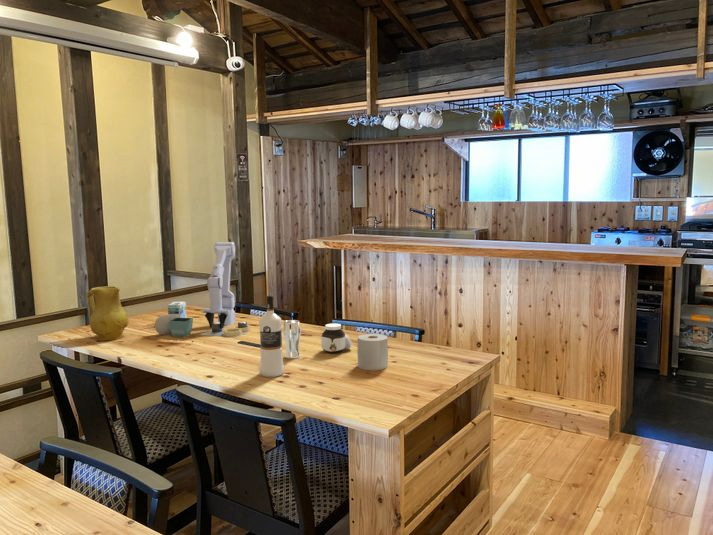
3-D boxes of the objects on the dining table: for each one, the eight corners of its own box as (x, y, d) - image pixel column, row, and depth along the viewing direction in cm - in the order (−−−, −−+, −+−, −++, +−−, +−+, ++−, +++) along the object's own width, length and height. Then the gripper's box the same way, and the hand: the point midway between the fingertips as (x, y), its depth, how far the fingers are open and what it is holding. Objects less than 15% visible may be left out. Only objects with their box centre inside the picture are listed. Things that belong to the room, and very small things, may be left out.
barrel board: (217, 329, 292) (217, 319, 291) (253, 331, 286) (252, 321, 285) (199, 337, 276) (199, 326, 276) (237, 339, 270) (236, 328, 270)
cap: (215, 329, 287) (214, 321, 286) (224, 330, 285) (223, 322, 285) (209, 331, 282) (209, 323, 281) (218, 332, 280) (218, 324, 280)
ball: (168, 338, 276) (167, 317, 274) (150, 336, 279) (149, 316, 278) (180, 333, 285) (179, 313, 284) (163, 332, 288) (162, 312, 287)
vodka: (288, 371, 220) (286, 294, 216) (276, 378, 211) (274, 298, 208) (267, 369, 223) (265, 293, 220) (255, 376, 215) (252, 297, 211)
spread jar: (319, 352, 246) (318, 326, 245) (329, 346, 257) (329, 320, 255) (345, 355, 242) (345, 328, 241) (354, 348, 253) (354, 322, 251)
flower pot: (194, 335, 280) (193, 317, 279) (187, 340, 271) (186, 321, 270) (176, 335, 281) (175, 317, 280) (169, 339, 272) (168, 321, 271)
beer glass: (287, 359, 236) (286, 324, 234) (281, 355, 242) (280, 320, 240) (303, 357, 239) (302, 322, 237) (297, 353, 245) (296, 319, 243)
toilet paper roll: (358, 361, 232) (357, 333, 231) (387, 361, 232) (387, 333, 231) (357, 370, 220) (356, 341, 219) (388, 370, 220) (388, 340, 219)
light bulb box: (180, 324, 304) (180, 304, 303) (168, 324, 305) (167, 304, 303) (187, 320, 315) (186, 301, 314) (174, 320, 315) (173, 301, 314)
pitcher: (97, 343, 265) (94, 289, 264) (85, 338, 279) (82, 287, 278) (134, 338, 276) (132, 286, 275) (121, 333, 290) (118, 284, 289)
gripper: (198, 301, 280) (199, 328, 282) (224, 302, 276) (225, 330, 277) (206, 299, 287) (207, 325, 288) (232, 300, 282) (233, 327, 284)
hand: (216, 327), depth 283 cm, fingers closed on cap, 5 cm apart
